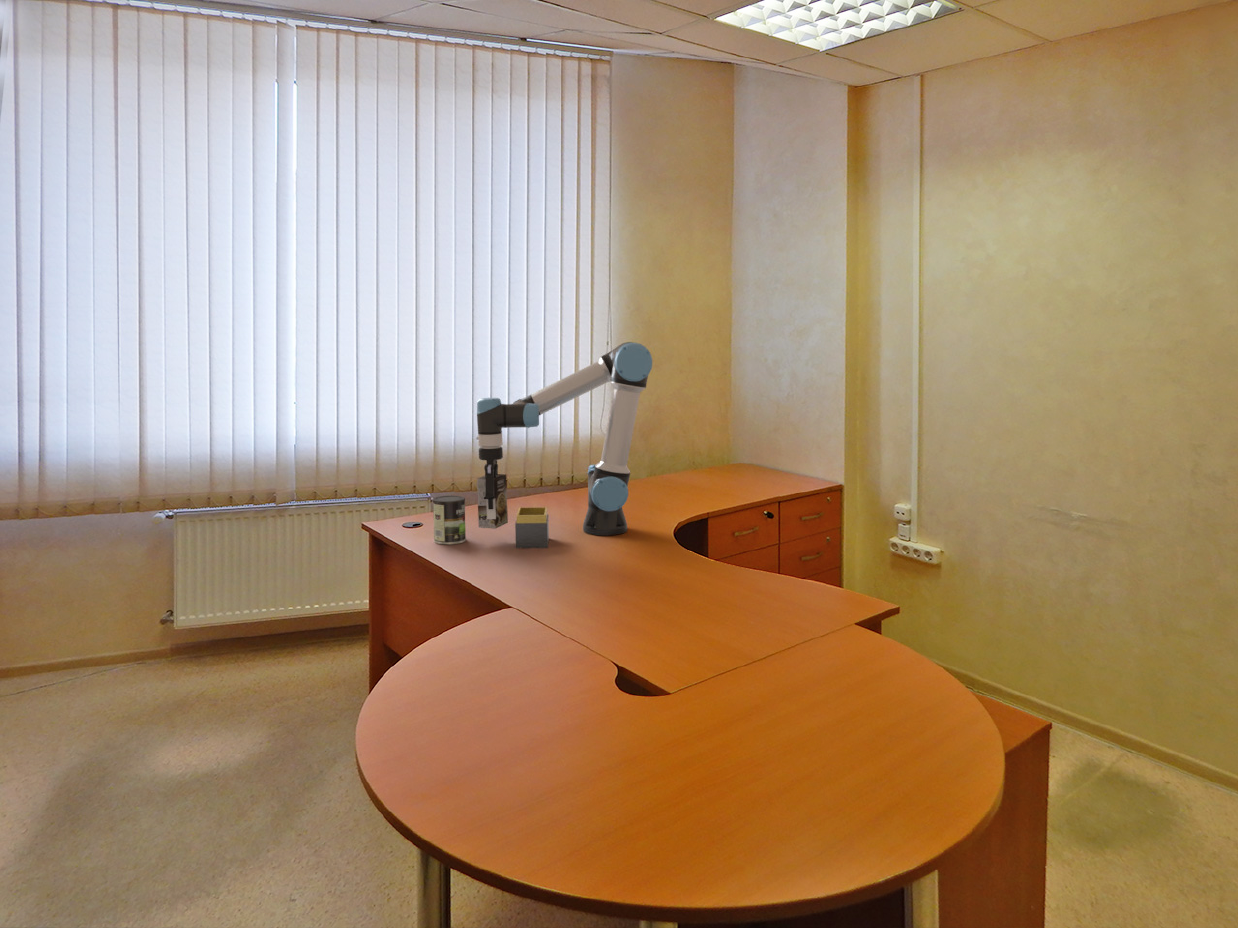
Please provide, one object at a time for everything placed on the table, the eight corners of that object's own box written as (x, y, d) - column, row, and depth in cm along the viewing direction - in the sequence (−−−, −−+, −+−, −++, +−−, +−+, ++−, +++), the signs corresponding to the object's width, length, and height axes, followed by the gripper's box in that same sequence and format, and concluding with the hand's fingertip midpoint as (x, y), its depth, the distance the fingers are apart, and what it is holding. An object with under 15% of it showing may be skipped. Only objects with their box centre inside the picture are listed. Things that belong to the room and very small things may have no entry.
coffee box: (496, 529, 267) (494, 478, 264) (478, 527, 269) (475, 478, 266) (508, 522, 275) (507, 473, 273) (491, 521, 277) (489, 473, 275)
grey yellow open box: (548, 538, 279) (548, 506, 277) (547, 547, 267) (547, 515, 265) (518, 538, 278) (517, 507, 277) (515, 548, 266) (515, 515, 265)
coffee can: (470, 537, 279) (469, 495, 277) (458, 545, 269) (457, 502, 267) (441, 536, 281) (440, 494, 279) (428, 543, 271) (427, 500, 269)
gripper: (482, 442, 279) (485, 507, 283) (474, 452, 256) (477, 523, 260) (505, 441, 279) (507, 507, 283) (499, 451, 257) (501, 522, 260)
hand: (493, 515), depth 272 cm, fingers closed on coffee box, 10 cm apart
